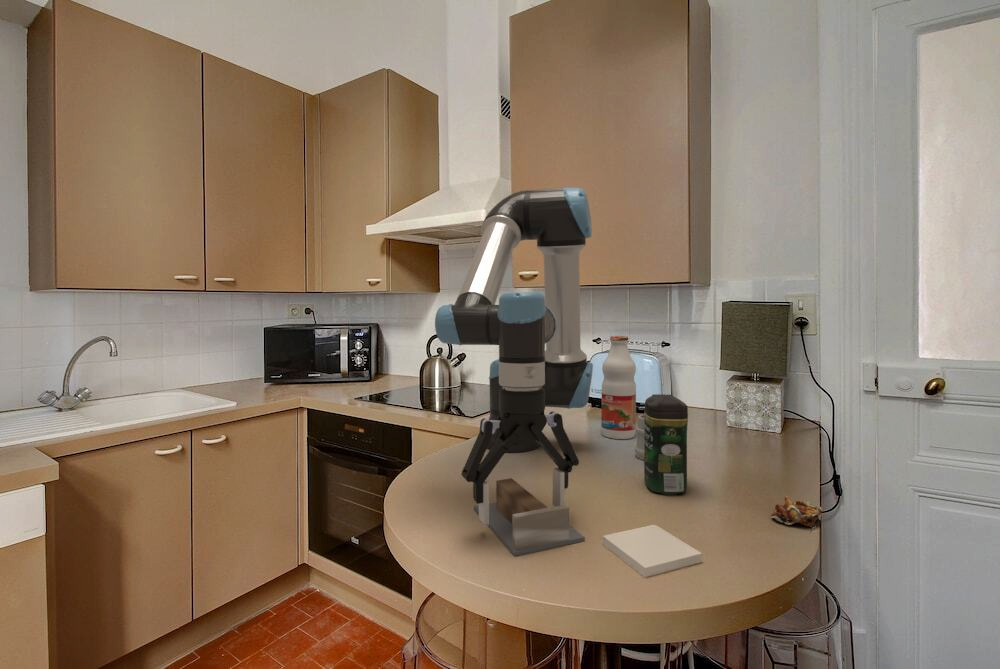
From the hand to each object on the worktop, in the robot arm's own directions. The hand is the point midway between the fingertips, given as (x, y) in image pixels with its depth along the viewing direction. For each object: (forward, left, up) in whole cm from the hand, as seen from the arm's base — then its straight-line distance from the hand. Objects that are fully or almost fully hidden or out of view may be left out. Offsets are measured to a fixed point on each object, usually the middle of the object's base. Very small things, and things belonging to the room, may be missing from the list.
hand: (522, 514), depth 81 cm
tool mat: (-1, +1, -2) cm, 3 cm away
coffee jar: (-5, +34, -2) cm, 34 cm away
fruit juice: (-41, +49, -2) cm, 64 cm away
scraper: (-1, 0, -2) cm, 2 cm away
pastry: (+15, +46, -3) cm, 48 cm away
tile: (+10, +14, -2) cm, 17 cm away
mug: (-20, +43, -2) cm, 47 cm away
